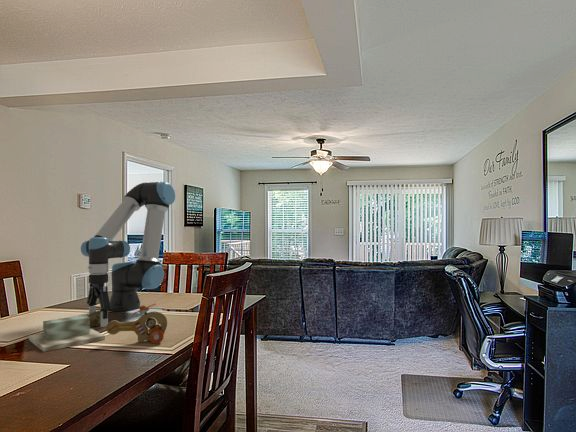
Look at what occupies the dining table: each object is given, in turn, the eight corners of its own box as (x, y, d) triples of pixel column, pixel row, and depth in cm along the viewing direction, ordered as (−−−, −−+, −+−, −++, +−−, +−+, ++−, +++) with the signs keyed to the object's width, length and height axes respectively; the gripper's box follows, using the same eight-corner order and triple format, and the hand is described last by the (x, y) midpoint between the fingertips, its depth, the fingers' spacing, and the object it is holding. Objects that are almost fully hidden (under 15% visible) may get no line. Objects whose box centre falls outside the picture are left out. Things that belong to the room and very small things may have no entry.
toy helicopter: (166, 343, 147) (166, 304, 147) (103, 347, 142) (103, 307, 142) (167, 337, 155) (167, 300, 155) (108, 340, 150) (108, 303, 150)
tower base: (86, 329, 166) (86, 310, 166) (104, 339, 152) (104, 319, 152) (28, 339, 152) (28, 319, 152) (43, 351, 138) (43, 329, 138)
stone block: (108, 321, 181) (108, 309, 181) (99, 327, 170) (99, 315, 170) (94, 321, 181) (94, 310, 181) (84, 328, 169) (84, 316, 169)
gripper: (79, 271, 182) (79, 320, 181) (100, 277, 164) (99, 330, 164) (97, 270, 187) (96, 317, 187) (119, 275, 169) (118, 327, 169)
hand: (98, 323), depth 175 cm, fingers open, 13 cm apart
